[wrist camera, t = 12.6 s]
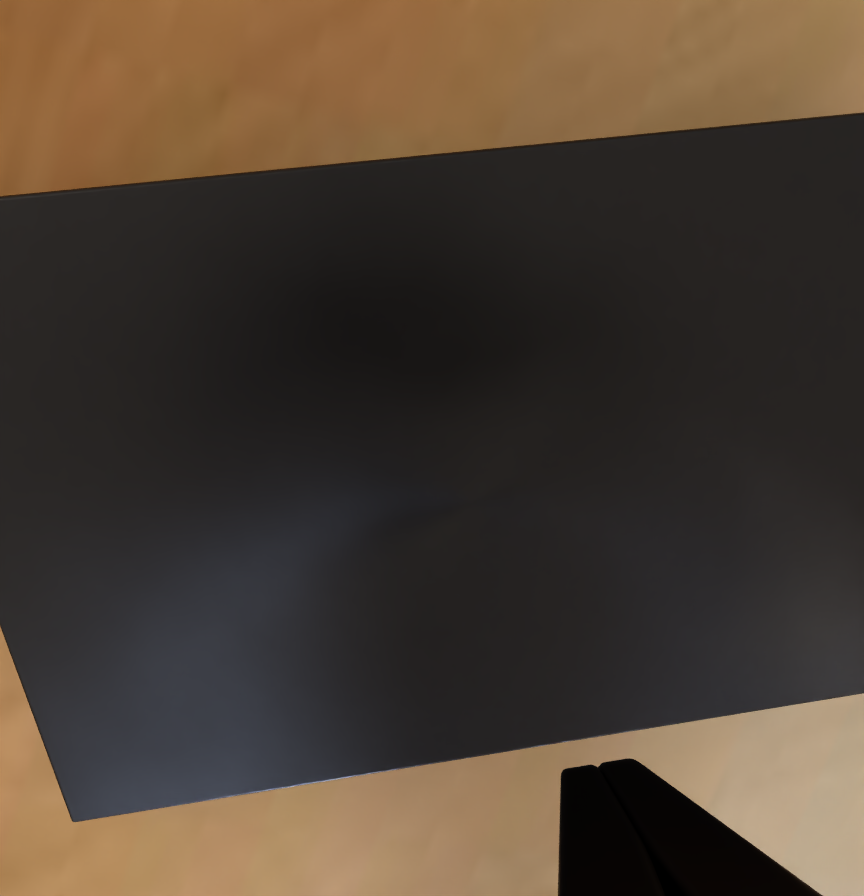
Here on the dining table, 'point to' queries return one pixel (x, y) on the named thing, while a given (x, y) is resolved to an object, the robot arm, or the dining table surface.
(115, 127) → the dining table surface
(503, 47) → the dining table surface
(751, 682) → the netbook screen
